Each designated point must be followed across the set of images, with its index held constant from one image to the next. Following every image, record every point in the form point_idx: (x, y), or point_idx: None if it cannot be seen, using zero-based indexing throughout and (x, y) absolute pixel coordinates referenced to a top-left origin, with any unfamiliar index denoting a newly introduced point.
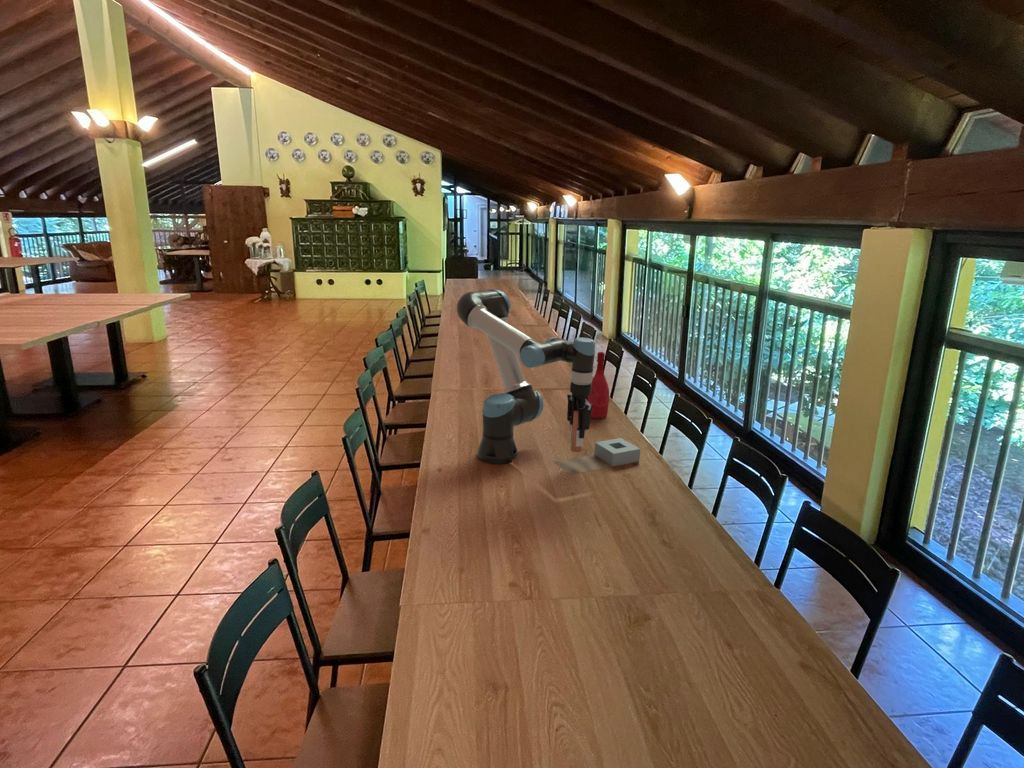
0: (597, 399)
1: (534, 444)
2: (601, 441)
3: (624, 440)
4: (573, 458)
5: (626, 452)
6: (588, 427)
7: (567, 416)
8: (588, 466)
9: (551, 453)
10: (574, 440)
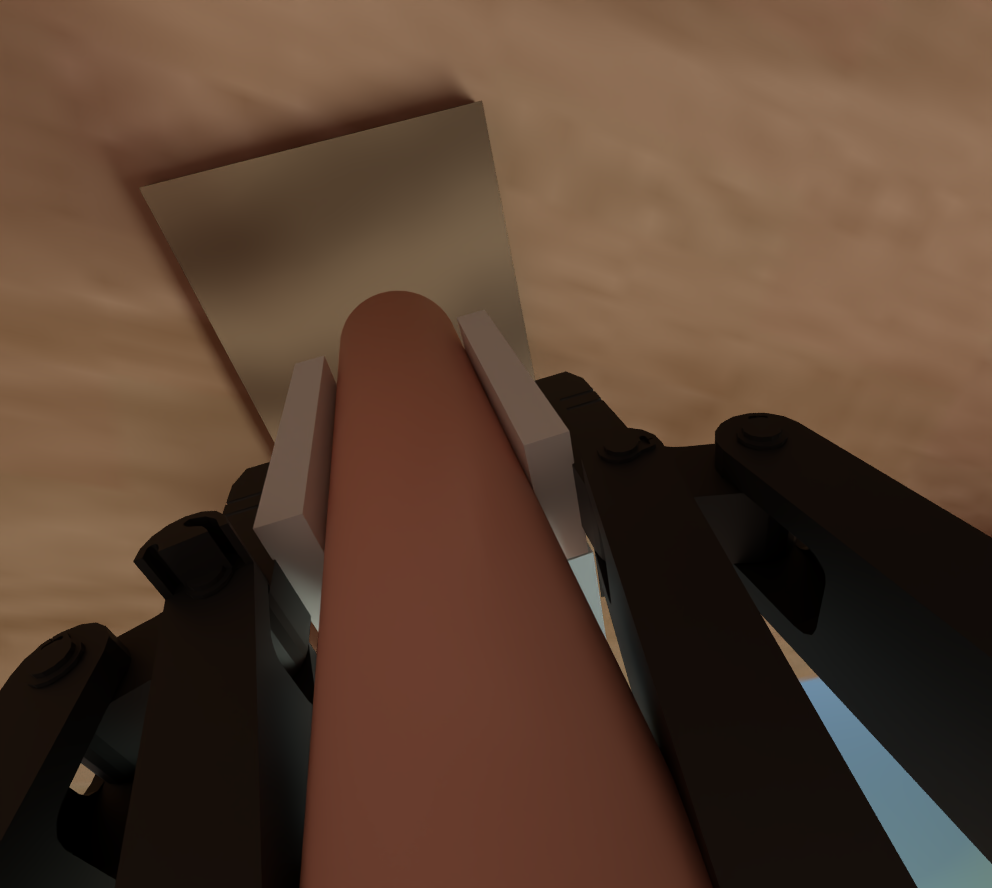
0: None
1: (928, 64)
2: (596, 592)
3: None
4: (521, 325)
5: None
6: (103, 784)
7: (843, 461)
8: None
9: (704, 169)
10: (350, 369)
